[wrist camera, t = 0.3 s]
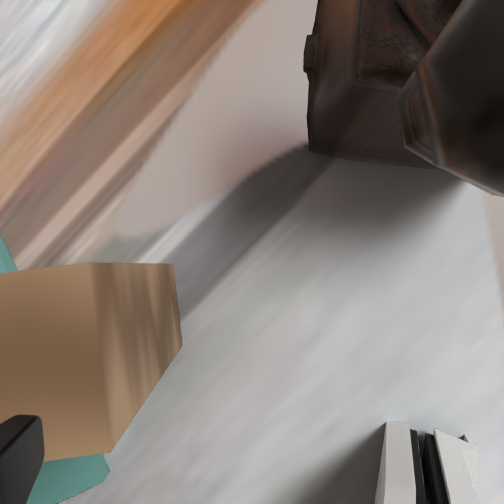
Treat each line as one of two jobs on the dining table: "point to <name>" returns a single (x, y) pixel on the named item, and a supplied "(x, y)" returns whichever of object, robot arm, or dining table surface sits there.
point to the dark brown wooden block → (410, 85)
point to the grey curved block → (426, 468)
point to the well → (63, 470)
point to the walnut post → (85, 349)
